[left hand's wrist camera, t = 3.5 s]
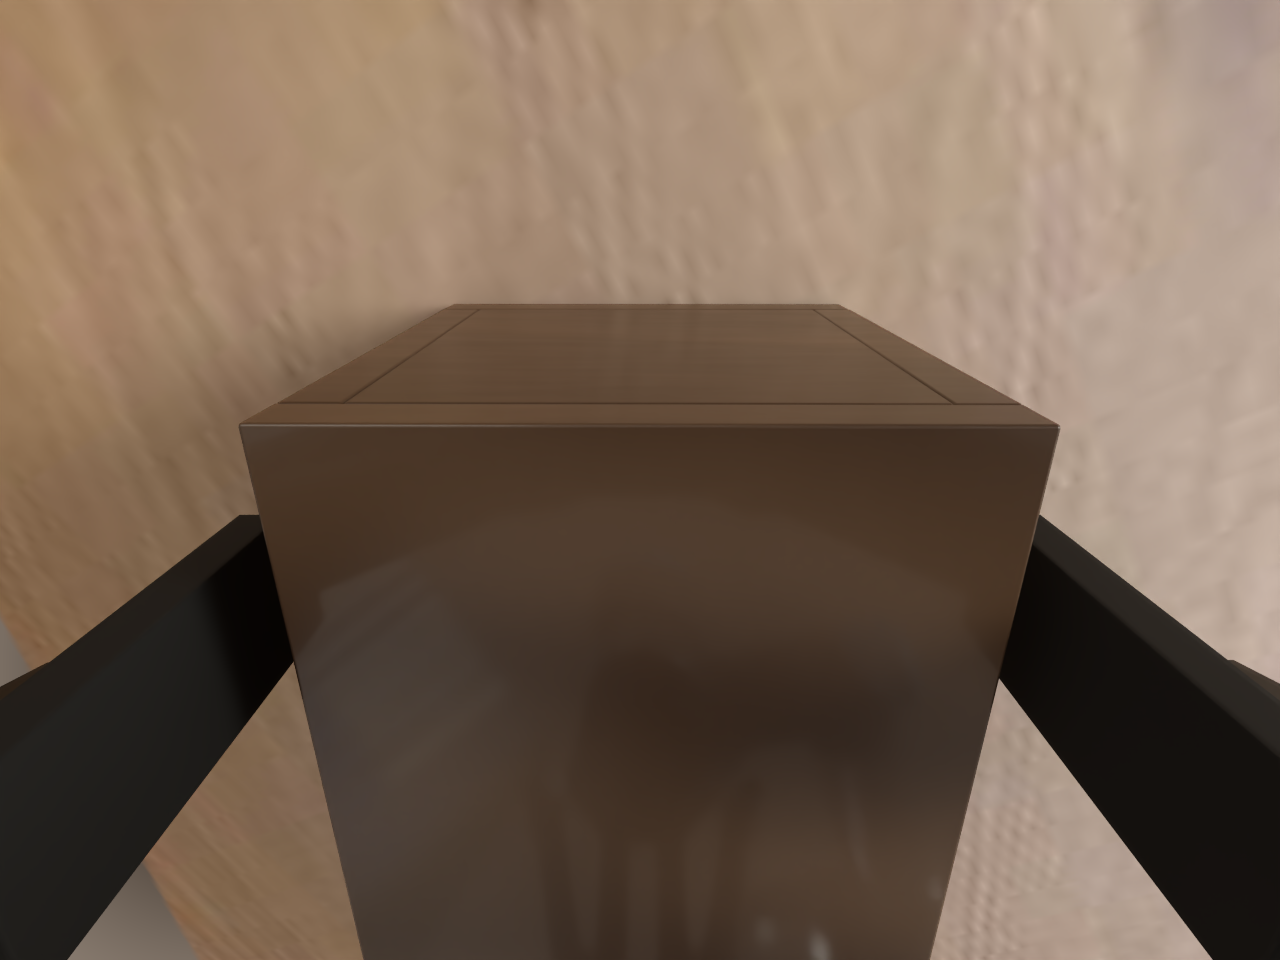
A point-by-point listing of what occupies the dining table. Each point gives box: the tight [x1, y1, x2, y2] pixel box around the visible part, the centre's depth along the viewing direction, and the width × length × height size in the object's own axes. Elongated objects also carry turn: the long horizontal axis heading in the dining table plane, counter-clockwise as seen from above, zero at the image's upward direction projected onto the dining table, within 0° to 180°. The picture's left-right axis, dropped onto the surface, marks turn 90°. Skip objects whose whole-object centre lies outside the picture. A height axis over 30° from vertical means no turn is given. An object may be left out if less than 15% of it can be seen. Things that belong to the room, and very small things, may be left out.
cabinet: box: [239, 304, 1060, 960], centre depth 17 cm, size 21×10×10 cm, turn 0°
